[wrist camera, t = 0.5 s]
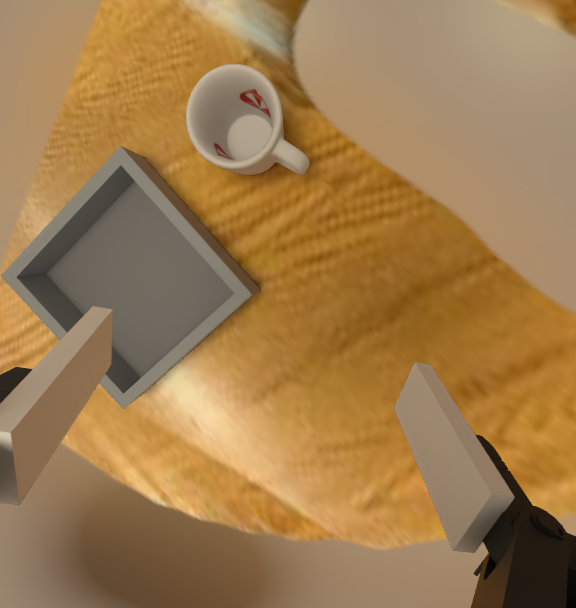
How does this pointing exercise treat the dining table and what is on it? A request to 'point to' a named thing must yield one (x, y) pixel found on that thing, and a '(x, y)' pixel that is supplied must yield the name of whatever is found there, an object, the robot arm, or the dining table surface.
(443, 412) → the robot arm
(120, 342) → the tray
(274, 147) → the cup
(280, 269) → the dining table surface
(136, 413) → the dining table surface
